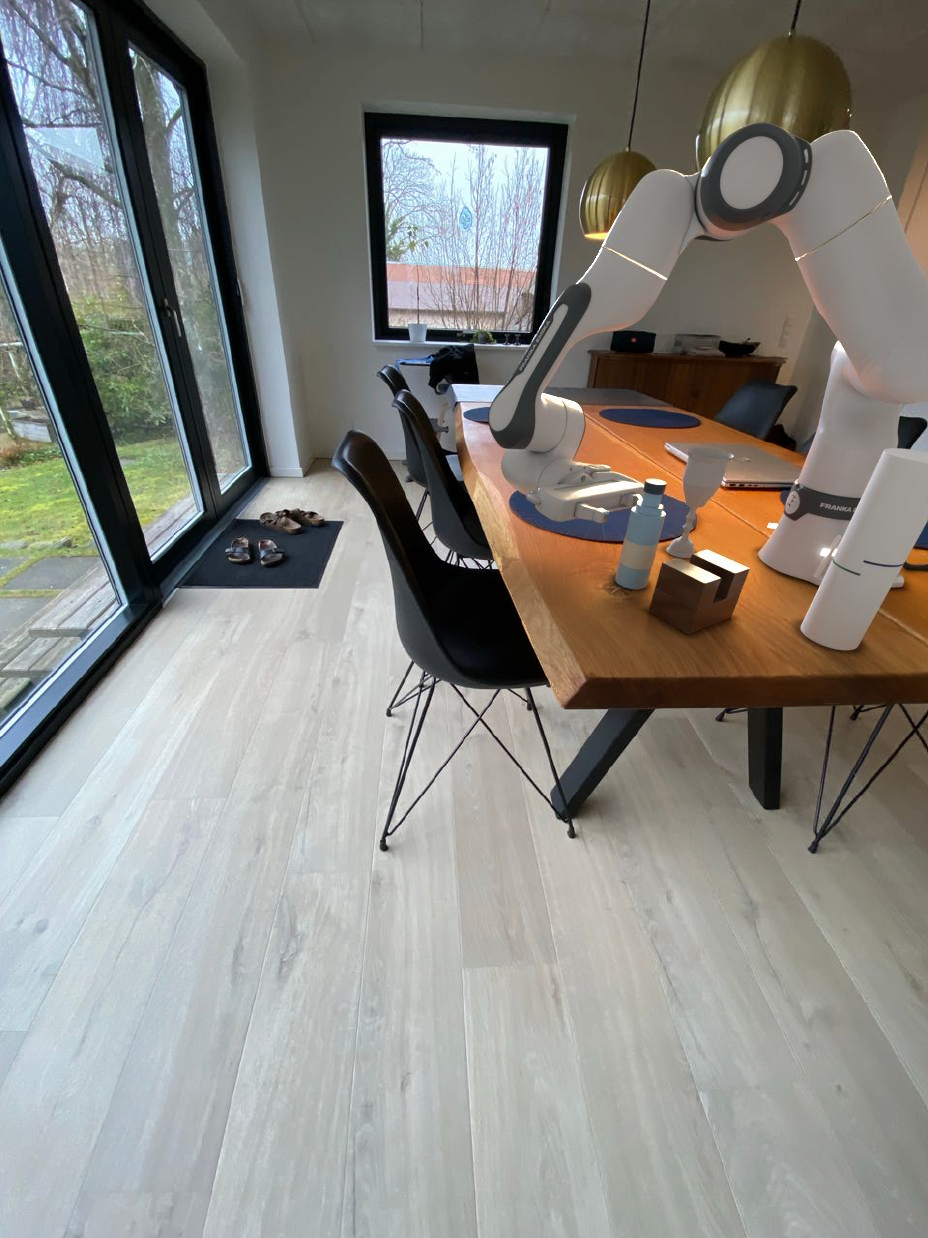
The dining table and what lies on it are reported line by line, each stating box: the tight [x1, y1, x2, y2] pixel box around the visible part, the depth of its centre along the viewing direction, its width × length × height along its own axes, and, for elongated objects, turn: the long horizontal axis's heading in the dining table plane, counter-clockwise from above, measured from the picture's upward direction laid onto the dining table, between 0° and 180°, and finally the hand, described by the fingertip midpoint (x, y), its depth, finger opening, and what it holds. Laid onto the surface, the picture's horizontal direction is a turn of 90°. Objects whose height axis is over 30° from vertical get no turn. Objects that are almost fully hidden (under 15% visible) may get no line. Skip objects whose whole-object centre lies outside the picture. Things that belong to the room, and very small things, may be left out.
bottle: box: [614, 478, 668, 590], centre depth 80 cm, size 14×5×14 cm
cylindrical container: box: [800, 447, 928, 651], centre depth 67 cm, size 7×7×25 cm
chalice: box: [666, 446, 734, 559], centre depth 91 cm, size 7×7×18 cm
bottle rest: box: [648, 549, 751, 635], centre depth 74 cm, size 7×10×8 cm
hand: (626, 513), depth 82 cm, fingers open, 8 cm apart
